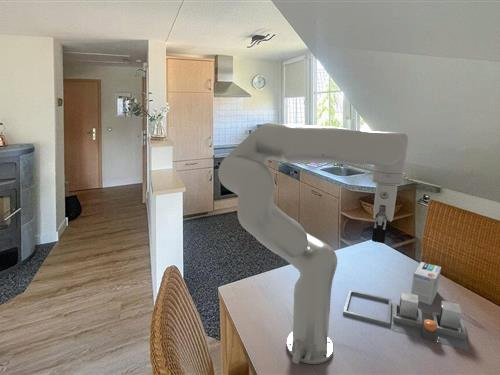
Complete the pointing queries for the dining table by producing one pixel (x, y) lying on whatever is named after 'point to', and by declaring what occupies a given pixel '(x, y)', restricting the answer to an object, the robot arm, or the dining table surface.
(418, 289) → the light bulb box
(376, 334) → the dining table surface
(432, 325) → the button
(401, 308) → the block
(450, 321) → the block
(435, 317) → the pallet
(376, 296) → the tray
